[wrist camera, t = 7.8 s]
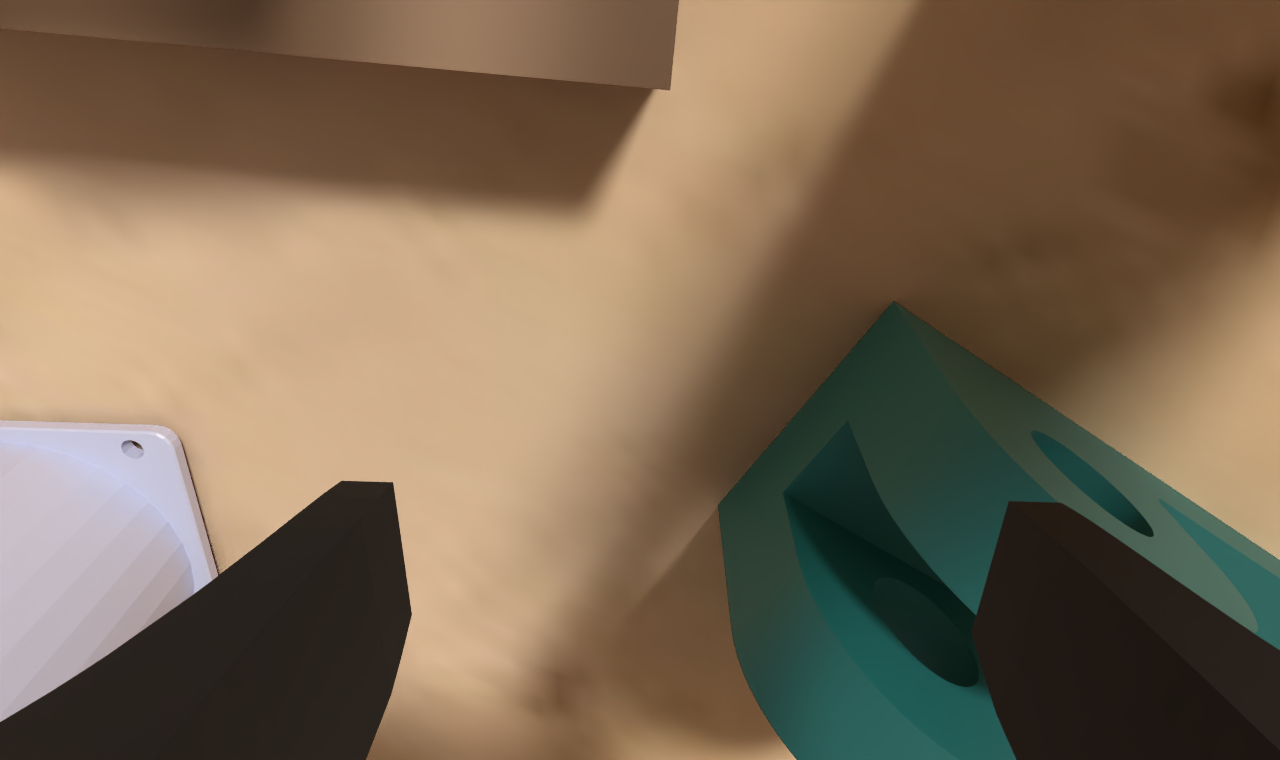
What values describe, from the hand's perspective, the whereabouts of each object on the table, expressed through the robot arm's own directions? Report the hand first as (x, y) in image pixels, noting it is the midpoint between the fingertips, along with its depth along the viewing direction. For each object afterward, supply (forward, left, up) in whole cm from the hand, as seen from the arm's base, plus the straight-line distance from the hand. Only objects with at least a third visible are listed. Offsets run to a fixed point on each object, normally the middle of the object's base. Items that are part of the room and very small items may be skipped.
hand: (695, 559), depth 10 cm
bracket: (+11, -8, -10) cm, 17 cm away
